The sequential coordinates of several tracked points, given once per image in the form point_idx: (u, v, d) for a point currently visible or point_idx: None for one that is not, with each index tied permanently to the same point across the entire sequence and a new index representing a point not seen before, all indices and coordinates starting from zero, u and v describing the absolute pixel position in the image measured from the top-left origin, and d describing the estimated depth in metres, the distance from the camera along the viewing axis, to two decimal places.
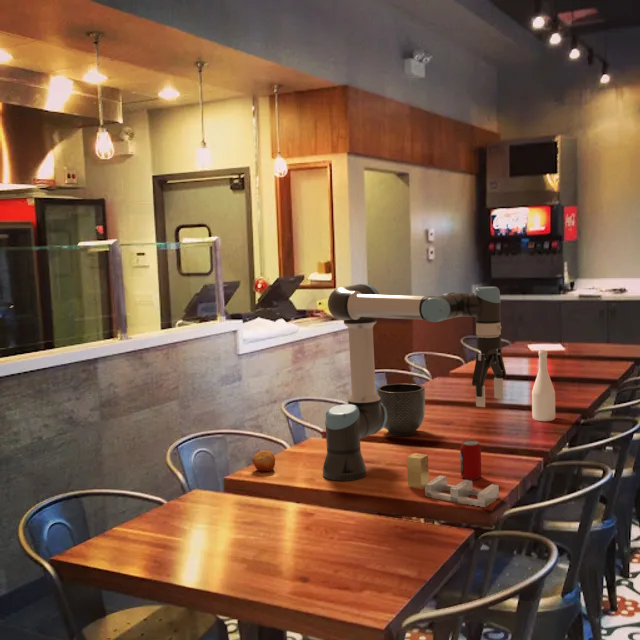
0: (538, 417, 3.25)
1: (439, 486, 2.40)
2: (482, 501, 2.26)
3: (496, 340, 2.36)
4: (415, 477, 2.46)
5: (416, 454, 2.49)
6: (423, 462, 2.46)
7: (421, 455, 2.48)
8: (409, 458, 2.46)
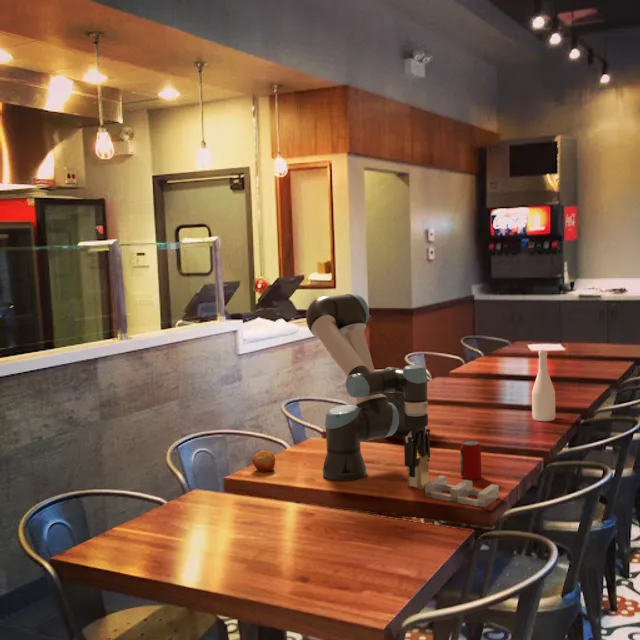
0: (538, 417, 3.25)
1: (439, 486, 2.40)
2: (482, 501, 2.26)
3: (422, 418, 2.43)
4: None
5: None
6: (423, 461, 2.46)
7: (421, 455, 2.48)
8: None
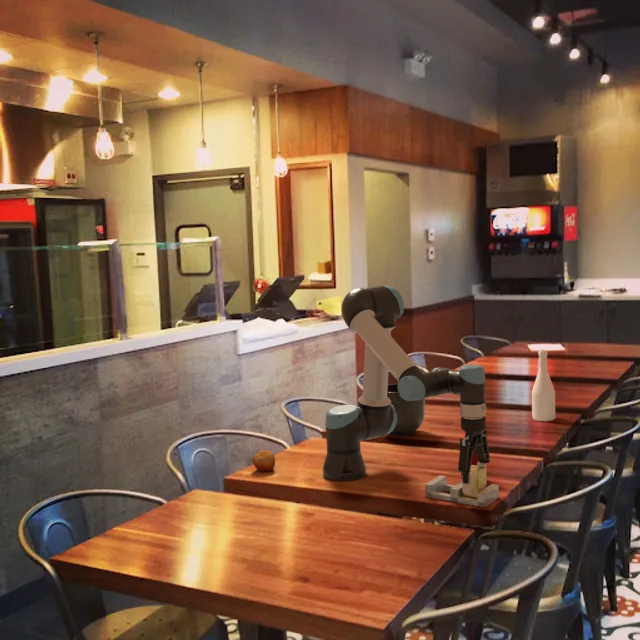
0: (538, 417, 3.25)
1: (439, 486, 2.40)
2: (482, 501, 2.26)
3: (481, 422, 2.27)
4: (472, 491, 2.30)
5: (472, 466, 2.34)
6: (481, 474, 2.30)
7: (478, 467, 2.32)
8: None
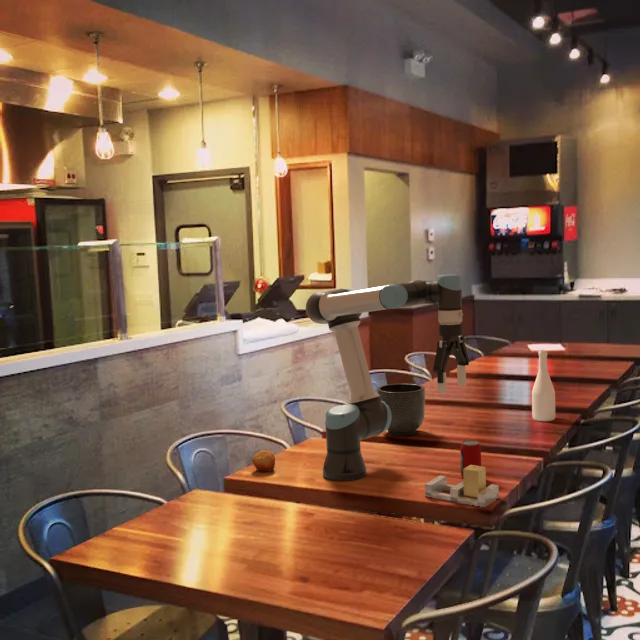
0: (538, 417, 3.25)
1: (439, 486, 2.40)
2: (482, 501, 2.26)
3: (457, 327, 2.38)
4: (472, 491, 2.30)
5: (472, 466, 2.34)
6: (481, 474, 2.30)
7: (478, 467, 2.32)
8: (466, 470, 2.31)
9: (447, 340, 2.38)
